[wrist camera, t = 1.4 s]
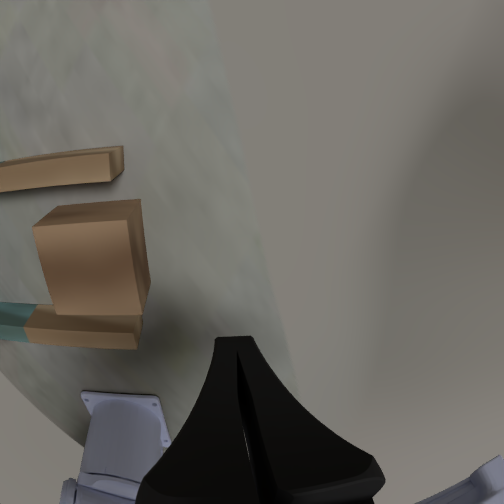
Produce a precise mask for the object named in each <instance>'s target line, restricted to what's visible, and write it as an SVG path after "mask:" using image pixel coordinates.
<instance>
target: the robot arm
mask: <svg viewBox="0 0 504 504" xmlns="http://www.w3.org/2000/svg"><path fill="white" fill-rule="evenodd" d="M81 398H82V400H83V402H84V404H85V406H86V407H87V409H88V411H89V413H90V415H91V421H90V425H89V429H88V434H87V438H86V443H85V448H84V453H83V458H82V463H81V468H80V473H79V476H78V479H77V483H76V480H75V479H73V478H69V480H66V481H64V482H63V486H62V492H61V498H60V503H59V504H374V501H373V498H372V497H373V496H374V495H375V494H376V493H377V492H378V491H379V490H380V489H381V488H382V487H383V485H384V484H385V477H384V475H383V472H382V470H381V468H380V467H379V465H378V463H377V462H376V460H375V458H374V457H373V456H372V455H370V454H368V453H366V452H365V451H363V450H361V449H359V448H357V447H356V446H354V445H352V444H350V443H349V442H347V441H346V440H344V439H343V438H341V437H340V436H338V435H337V434H335V433H334V432H333V431H332V430H330V429H329V428H327V427H326V426H325V425H324V424H322V423H321V422H320V421H319V420H317V419H316V418H315V417H314V416H313V415H312V414H310V413H309V412H308V411H307V410H306V409H305V408H304V407H303V406H302V405H301V404H300V403H299V402H298V401H297V400H296V399H295V398H294V397H293V395H292V394H291V393H290V392H289V391H288V390H287V388H286V387H285V386H284V385H283V384H282V382H281V381H280V380H279V379H278V377H277V376H276V374H275V373H274V372H273V370H272V369H271V368H270V366H269V365H268V363H267V362H266V360H265V358H264V357H263V355H262V354H261V352H260V350H259V348H258V346H257V345H256V343H255V341H254V338H253V337H252V336H233V337H217V338H216V339H215V345H214V352H213V357H212V361H211V364H210V368H209V371H208V374H207V377H206V380H205V382H204V385H203V387H202V390H201V392H200V394H199V397H198V399H197V401H196V403H195V405H194V407H193V409H192V411H191V413H190V415H189V417H188V418H187V420H186V422H185V424H184V425H183V427H182V429H181V430H180V432H179V433H178V435H177V436H176V438H175V439H174V441H173V442H171V439H170V435H169V432H168V429H167V425H166V422H165V418H164V415H163V411H162V407H161V404H160V400H159V398H158V397H157V396H151V395H128V394H112V393H99V392H88V391H82V392H81ZM243 430H244V431H243ZM244 434H245V436H244ZM245 438H246V441H245ZM246 443H247V446H246ZM163 447H168V449H167V450H166V451H165V453H164V454H163ZM247 447H248V451H247ZM248 453H249V456H248ZM249 459H250V461H249ZM415 504H504V459H503V458H502V456H501V455H498V456H496V457H495V458H493V459H492V460H490V461H488V462H487V463H485V464H483V465H482V466H480V467H479V468H478V469H477V470H475V471H474V472H473V473H472V474H471V475H470V477H468V478H466V479H465V480H463V481H461V482H459V483H457V484H455V485H454V486H451V487H449V488H447V489H445V490H443V491H441V492H439V493H437V494H435V495H433V496H431V497H429V498H427V499H424V500H422V501H420V502H417V503H415Z"/></svg>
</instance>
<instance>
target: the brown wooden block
mask: <svg viewBox="0 0 504 504" xmlns="http://www.w3.org/2000/svg"><path fill="white" fill-rule="evenodd" d="M32 230H33V234H34V238H35V243H36V247H37V251H38V255H39V259H40V262H41V266H42V270H43V273H44V277H45V280H46V283H47V287H48V290H49V293H50V296H51V299H52V302H53V305H54V308H55V311H56V314H57V315H143V311H144V307H145V303H146V299H147V295H148V291H149V287H150V284H151V280H150V274H149V267H148V260H147V252H146V245H145V237H144V228H143V219H142V209H141V199H134V200H120V201H106V202H94V203H83V204H72V205H62V206H57V207H56V208H54V209H53V210H52V211H51V212H49V213H48V214H47V215H46V216H45V217H43V218H42V219H41V220H40V221H39V222H37V223H36V224H35V225H34V226H33V227H32Z"/></svg>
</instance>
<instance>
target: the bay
mask: <svg viewBox="0 0 504 504" xmlns="http://www.w3.org/2000/svg"><path fill="white" fill-rule="evenodd" d="M123 170H124V154H123V146H114V147H103V148H93V149H83V150H74V151H66V152H59V153H51V154H44V155H38V156H31V157H25V158H19V159H14V160H8V161H3V162H0V192H6V191H13V190H21V189H30V188H38V187H47V186H57V185H68V184H79V183H92V182H106V181H111V180H113V179H114V178H115V177H116V176H117V175H119V174H120V173H121V172H122V171H123ZM142 325H143V321H142V315H57V314H56V311H55V308H54V305H38V304H19V303H3V302H0V339H4V340H11V341H20V342H28V343H37V344H48V345H59V346H71V347H86V348H104V349H130V350H137V348H138V343H139V339H140V334H141V330H142Z"/></svg>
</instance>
